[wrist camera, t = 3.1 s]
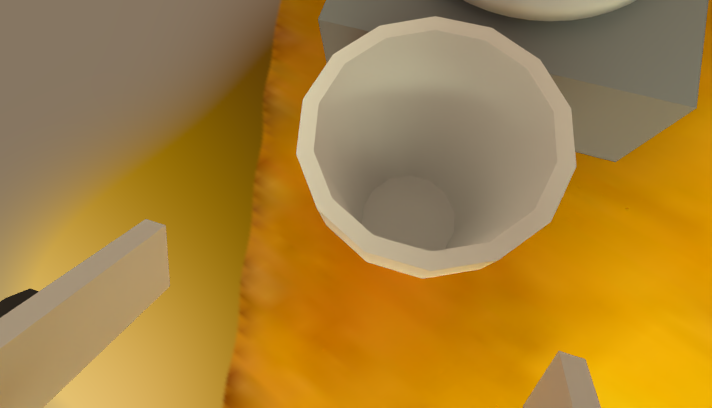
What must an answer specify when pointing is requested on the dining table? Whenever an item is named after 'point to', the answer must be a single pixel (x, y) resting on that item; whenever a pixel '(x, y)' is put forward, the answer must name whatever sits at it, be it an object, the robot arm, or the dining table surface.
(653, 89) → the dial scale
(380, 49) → the foam cup
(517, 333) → the dining table surface
